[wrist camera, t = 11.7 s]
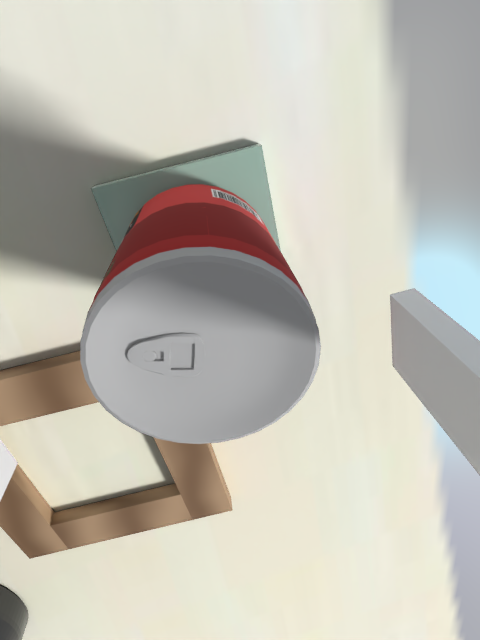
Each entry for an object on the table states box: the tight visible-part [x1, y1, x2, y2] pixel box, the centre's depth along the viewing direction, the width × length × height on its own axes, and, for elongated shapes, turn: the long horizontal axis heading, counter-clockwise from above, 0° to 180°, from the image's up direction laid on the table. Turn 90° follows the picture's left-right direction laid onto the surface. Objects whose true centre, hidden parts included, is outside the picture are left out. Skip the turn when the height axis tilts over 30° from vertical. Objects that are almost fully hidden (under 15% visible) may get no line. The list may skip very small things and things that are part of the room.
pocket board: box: [0, 351, 232, 558], centre depth 30 cm, size 18×18×1 cm
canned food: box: [80, 184, 321, 444], centre depth 18 cm, size 8×8×11 cm
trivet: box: [91, 144, 281, 252], centre depth 23 cm, size 9×9×1 cm
